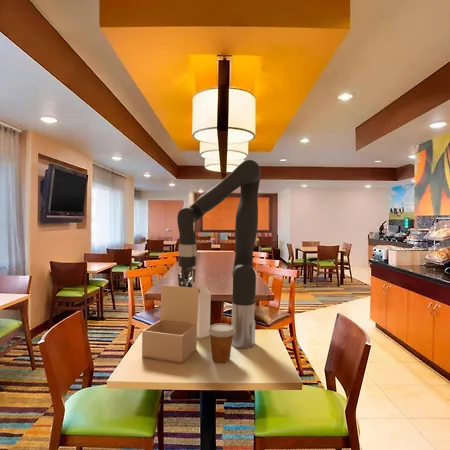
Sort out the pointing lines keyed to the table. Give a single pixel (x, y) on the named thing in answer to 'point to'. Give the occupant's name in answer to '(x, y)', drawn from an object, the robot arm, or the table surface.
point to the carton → (169, 341)
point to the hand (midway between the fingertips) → (186, 294)
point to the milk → (203, 312)
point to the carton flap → (179, 304)
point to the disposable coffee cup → (221, 342)
